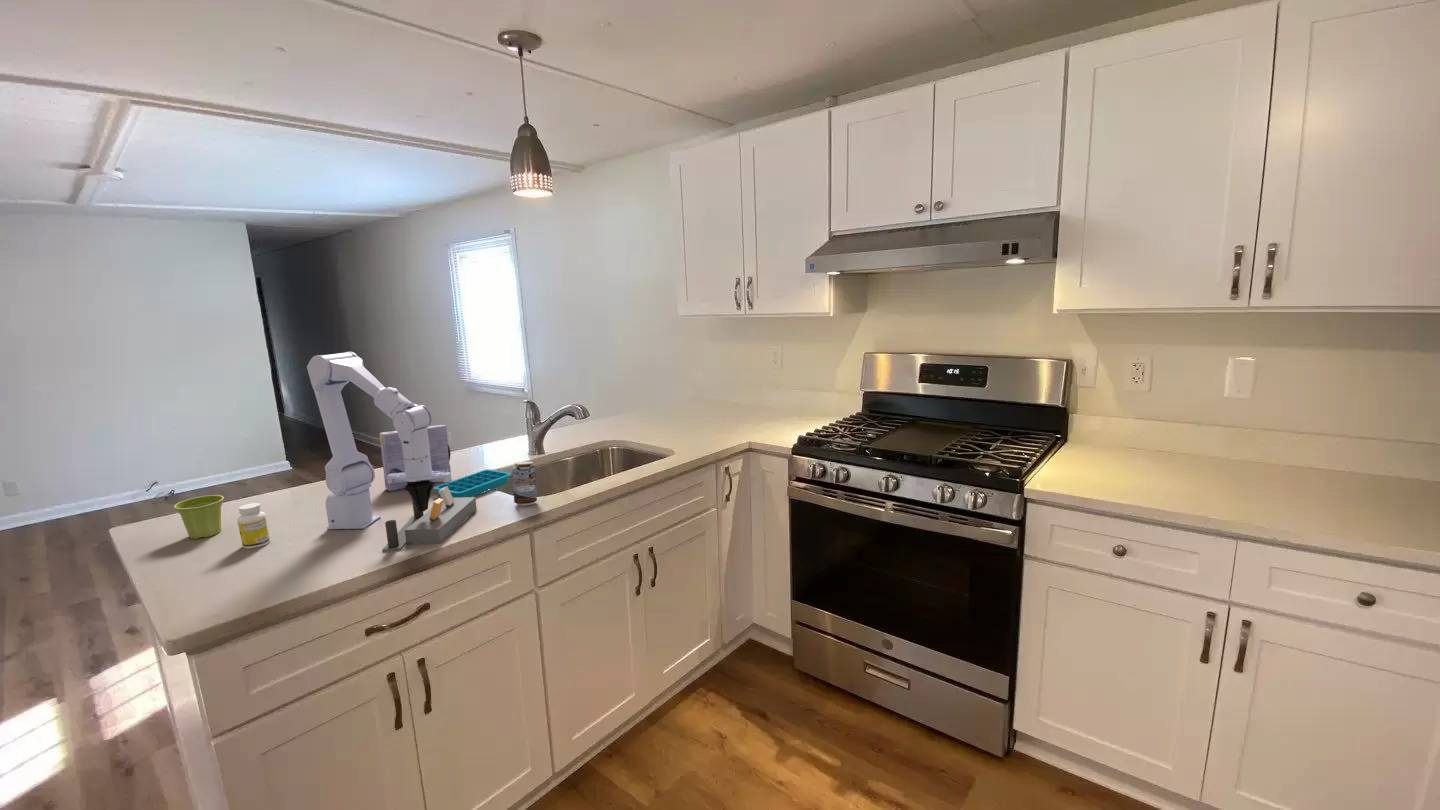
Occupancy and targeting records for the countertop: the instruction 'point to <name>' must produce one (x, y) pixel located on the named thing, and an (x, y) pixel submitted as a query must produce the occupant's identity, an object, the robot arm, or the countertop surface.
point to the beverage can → (524, 483)
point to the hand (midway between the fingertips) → (423, 509)
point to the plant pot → (201, 515)
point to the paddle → (446, 496)
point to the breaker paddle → (436, 509)
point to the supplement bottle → (253, 526)
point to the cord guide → (399, 539)
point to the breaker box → (440, 522)
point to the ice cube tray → (475, 483)
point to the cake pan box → (395, 458)
